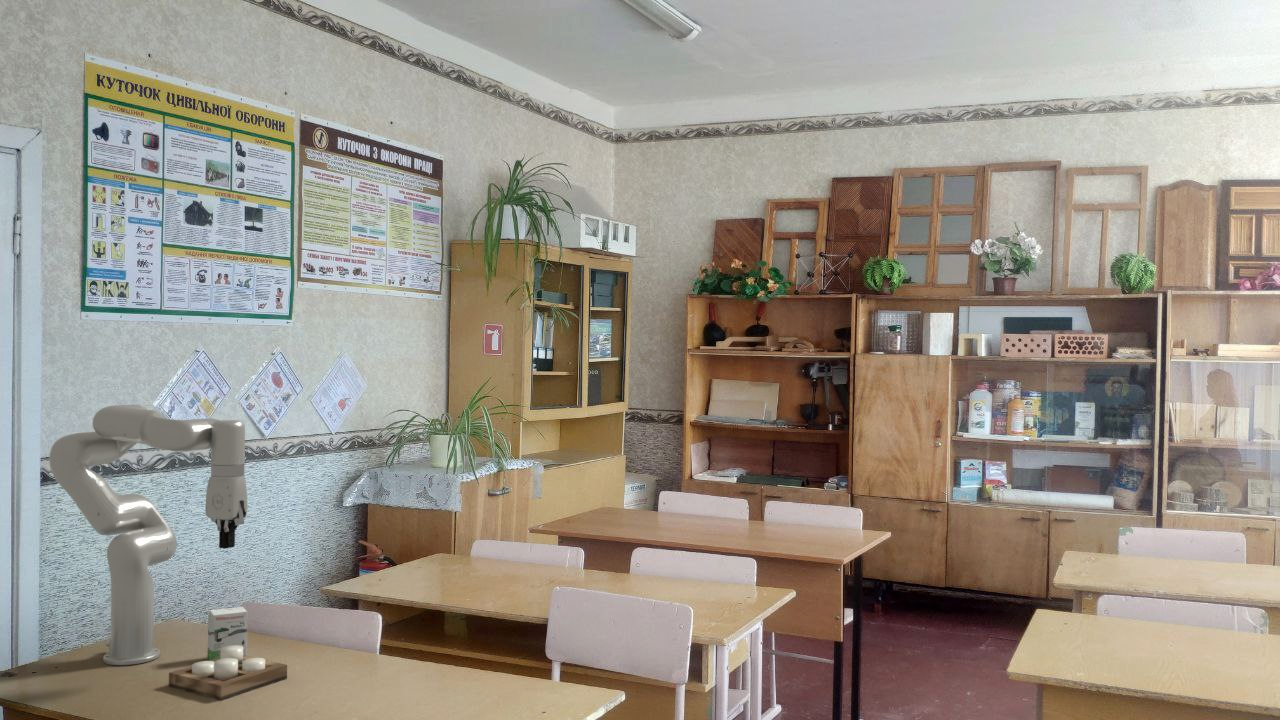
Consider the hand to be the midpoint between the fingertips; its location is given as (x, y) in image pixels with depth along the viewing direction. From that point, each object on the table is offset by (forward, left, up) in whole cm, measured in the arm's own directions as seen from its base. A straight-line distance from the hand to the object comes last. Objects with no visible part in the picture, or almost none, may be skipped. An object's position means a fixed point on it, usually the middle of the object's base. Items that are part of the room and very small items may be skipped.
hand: (227, 547), depth 246 cm
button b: (+6, -3, -26) cm, 27 cm away
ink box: (-7, +6, -29) cm, 31 cm away
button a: (+6, -11, -28) cm, 31 cm away
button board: (+10, -7, -29) cm, 32 cm away
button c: (+14, -11, -26) cm, 32 cm away
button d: (+14, -3, -28) cm, 31 cm away
